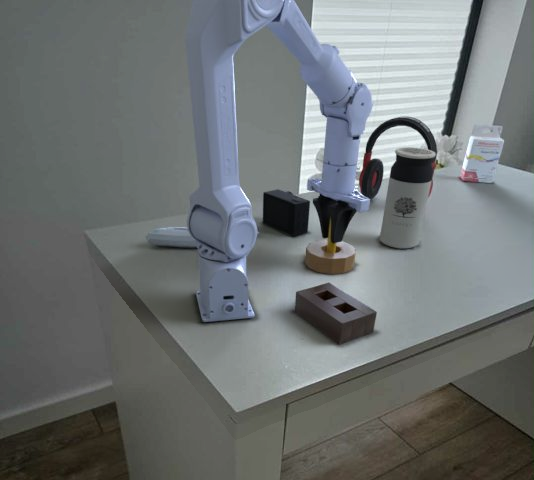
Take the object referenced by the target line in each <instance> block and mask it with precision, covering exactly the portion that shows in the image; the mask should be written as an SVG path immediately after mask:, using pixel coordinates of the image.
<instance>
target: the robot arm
mask: <svg viewBox="0 0 534 480" xmlns="http://www.w3.org/2000/svg"><path fill="white" fill-rule="evenodd" d="M264 27H267V28H268V29H269V30H270V31H271V33H273V35H274V36H275V37H276V38H277V39H278V40H279V41H280V42H281V43H282V44H283V46H284V47H285V48H286V49H287V50H288V51H289V52H290V53H291V55H293V56H294V58H296V60H297V61H298V62H299V63H300V66H299V75H300V77H301V79H302V81H304V83H305V84H306V85H307V86H308V88H309V89H310V90H311V91H312V92H313V94H314V95H315V97H316V98H317V99H318V103H319V110H320V114H321V116H323V117H325V118H326V123H325V135H324V136H325V137H324V147H323V159H322V171H321V179H320V178H317V177H312V178H308V179H307V183H306V190H307V191H309V192H316V193H318V194H319V195H318V197H314V198H312V204H313V206H314V208H315V210H316V213H317V216H318V221H319V225H320V231H321V232H320V233H321V237H322V239H323V240H326V239H328V234H329V224H330V219H331V242H332V243H337V242H343V238H344V236H345V234H346V231H347V229H348V227H349V225H350V223H351V221H352V219H353V218H354V217H355V215H356V213H357V212H358V213H364V212H368V211H369V210H370V205H371V204H370V203H371V199H368V198H366V197H365V196H363V195H362V193H361V192H359V191H358V187H359V186H357V185H356V178H357V177H356V176H357V170H358V169H357V168H358V161H359V154H360V153H359V152H360V145H361V136H362V135H363V134H364V131H366V123H367V121H368V119H369V117H370V115H371V113H372V109H373V107H374V101H373V98H372V93H371V90H370V89H369V88H368V86H367V84H365V83H363V82H357V80H356V78H355V77H354V72H353V71H352V70H351V69H349V68H348V67H347V66H346V63H344V61H343V60H342V58H341V57H340V56H339V54H340V50H339V49H338V47H337V46H336V45H331V44H329V43H320V41H319V39H318V38H317V36H316V34H315V32H313V30H312V28H311V25H309V23H308V21H307V20H306V18H305V16H304V15H303V13H302V11H301V9H300V8H299V6H298V4H297V3H296V1H295V0H192V5H191V8H190V13H189V17H188V21H187V25H186V30H185V37H184V38H185V39H184V40H185V41H184V43H185V54H186V63H187V71H188V82H189V83H188V84H189V93H190V104H191V110H192V111H191V113H192V124H193V135H194V143H195V156H196V164H197V173H198V184H199V185H198V186H199V187H198V188H196V189H195V190H194V191H193V192H192V193H190V195H189V211H188V214H187V218H186V228H188V231H189V233H190V235H191V236H192V237H193V238H194V239H196V247H195V248H197V257H198V258H197V259H198V261H197V262H198V273H199V274H198V277H199V278H198V279H199V290H197V291H196V292H195V297H196V300H197V304H198V309H199V313H200V317H201V321H202V322H204V323H207V322H208V323H209V322H219V321H220V322H221V321H229V320H241V319H252V318H255V312H254V310H253V307H252V305H251V302H250V300H249V280H248V276H247V257H248V256H249V255H250V252H251V251H252V249H253V248H254V246H255V244H256V241H257V238H258V235H257V231H258V227H257V223H256V221H255V219H254V217H253V213H252V204H251V202H250V200H249V199H248V197H247V196H246V194H245V193H244V190H242V188H241V186H240V170H239V152H238V151H239V149H238V132H237V115H236V114H237V111H236V93H235V90H236V89H235V73H234V55H235V54H236V52H237V51H238V50H239V48H240V47H241V46H242V45H243V43H244V42H245V41H246V40H247V39H248V38H249V37H251V36H252V35H254V34H255V33H257V32H259V30H261V29H263V28H264Z"/></svg>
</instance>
